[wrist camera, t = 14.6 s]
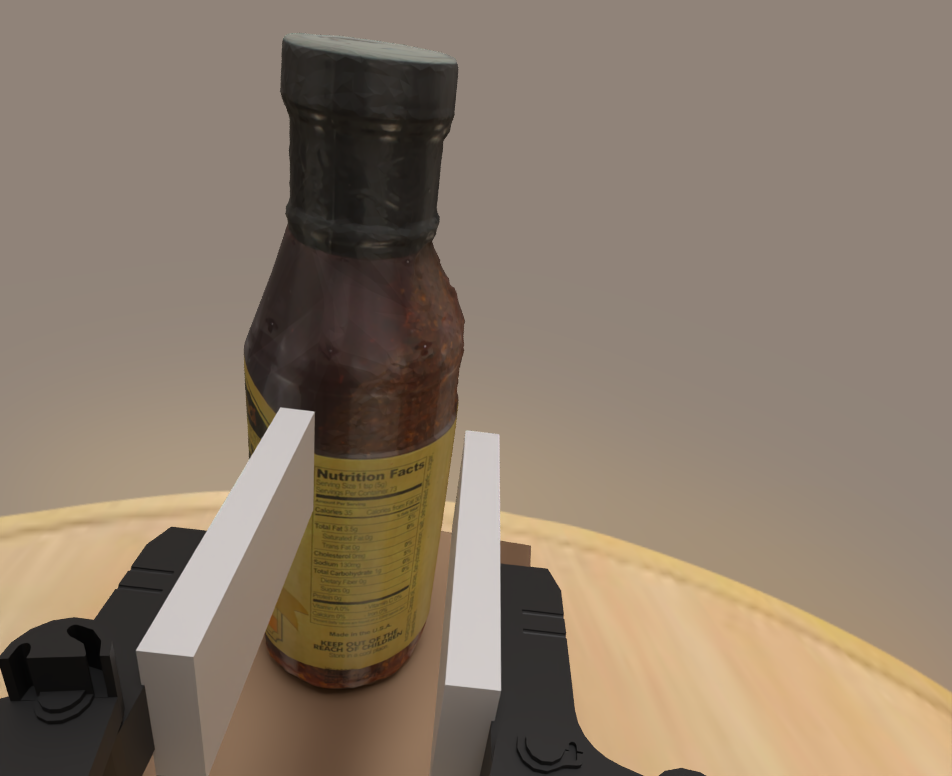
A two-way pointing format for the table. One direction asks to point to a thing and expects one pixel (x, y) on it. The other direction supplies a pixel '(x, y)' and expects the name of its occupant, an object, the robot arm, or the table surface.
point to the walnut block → (343, 710)
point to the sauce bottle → (361, 351)
